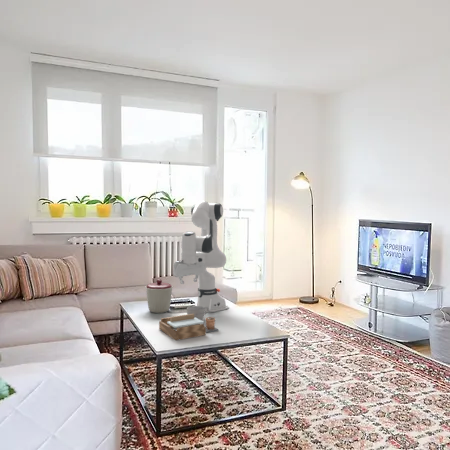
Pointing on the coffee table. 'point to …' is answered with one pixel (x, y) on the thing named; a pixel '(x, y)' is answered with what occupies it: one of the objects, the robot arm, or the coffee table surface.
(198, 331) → the cold frame
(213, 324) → the pot
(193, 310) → the teacup
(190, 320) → the lid
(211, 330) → the tile
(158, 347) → the coffee table surface
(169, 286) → the canister
